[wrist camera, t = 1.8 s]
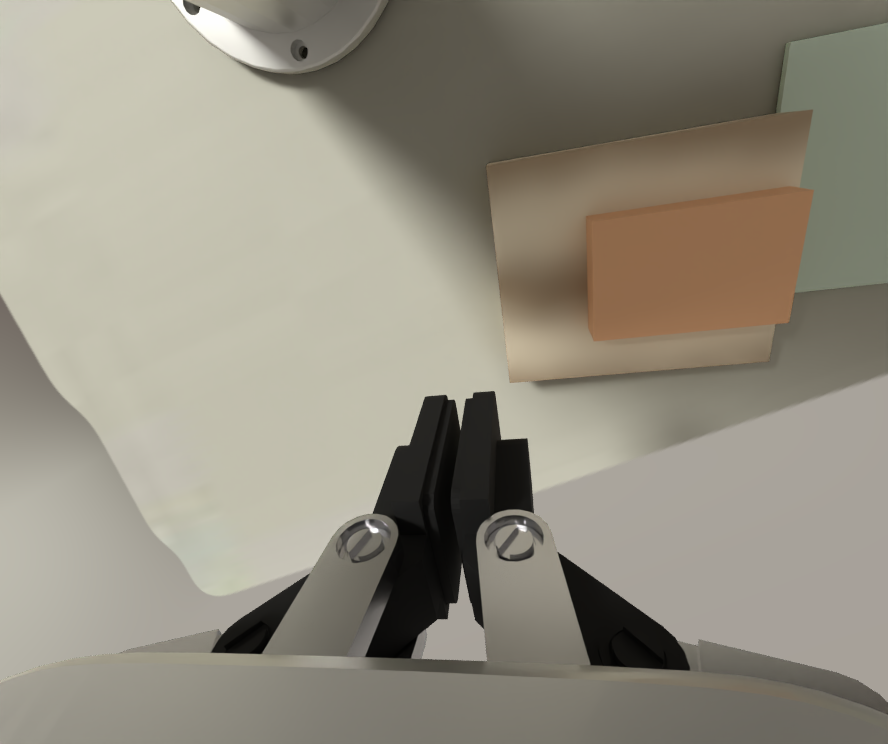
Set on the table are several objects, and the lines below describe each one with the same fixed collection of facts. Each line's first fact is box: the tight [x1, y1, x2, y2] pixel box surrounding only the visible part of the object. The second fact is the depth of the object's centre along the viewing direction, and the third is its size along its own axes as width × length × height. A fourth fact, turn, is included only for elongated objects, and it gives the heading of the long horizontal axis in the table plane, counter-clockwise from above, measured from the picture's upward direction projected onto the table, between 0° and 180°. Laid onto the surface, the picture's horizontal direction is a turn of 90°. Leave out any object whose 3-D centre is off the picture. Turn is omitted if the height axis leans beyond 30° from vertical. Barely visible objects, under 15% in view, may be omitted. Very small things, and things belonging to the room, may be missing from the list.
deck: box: [486, 109, 813, 383], centre depth 24 cm, size 12×14×3 cm
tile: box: [586, 186, 814, 341], centre depth 22 cm, size 6×9×2 cm, turn 99°
